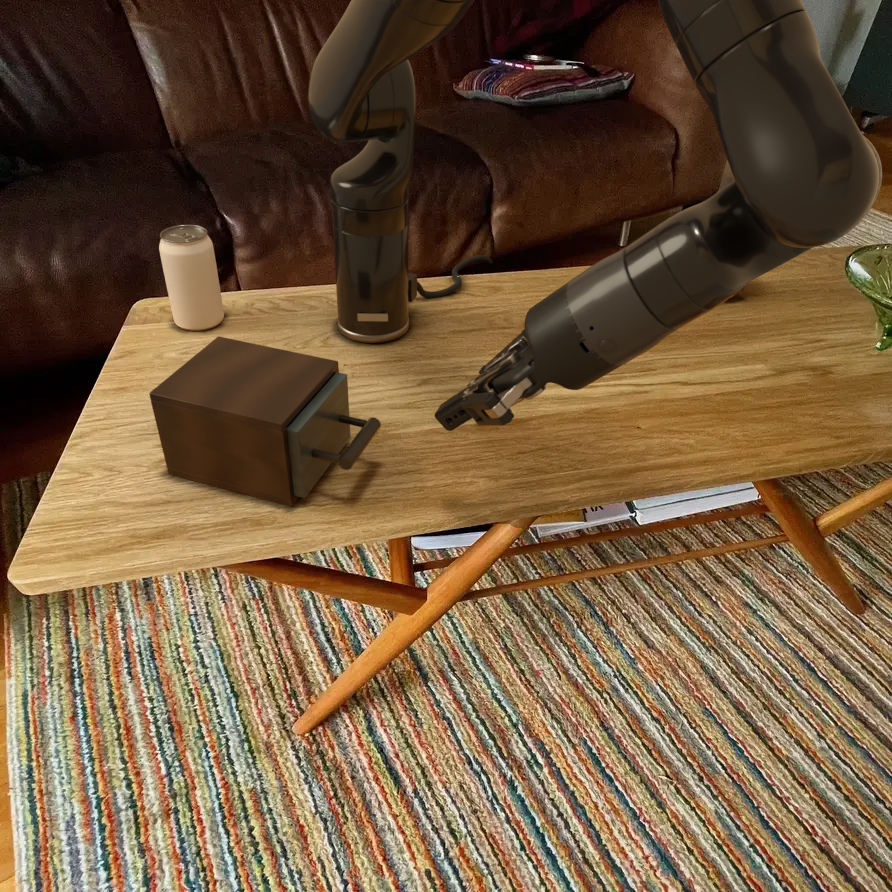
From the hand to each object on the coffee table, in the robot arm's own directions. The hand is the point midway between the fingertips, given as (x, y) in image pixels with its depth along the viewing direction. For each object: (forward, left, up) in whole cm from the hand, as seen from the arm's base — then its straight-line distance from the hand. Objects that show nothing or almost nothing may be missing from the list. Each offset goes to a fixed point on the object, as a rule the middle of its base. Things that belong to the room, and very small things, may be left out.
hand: (443, 419), depth 67 cm
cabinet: (0, -20, -10) cm, 22 cm away
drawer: (0, -16, -9) cm, 18 cm away
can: (-23, -42, -10) cm, 49 cm away
